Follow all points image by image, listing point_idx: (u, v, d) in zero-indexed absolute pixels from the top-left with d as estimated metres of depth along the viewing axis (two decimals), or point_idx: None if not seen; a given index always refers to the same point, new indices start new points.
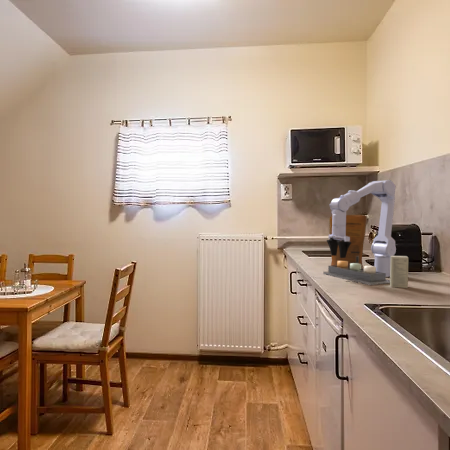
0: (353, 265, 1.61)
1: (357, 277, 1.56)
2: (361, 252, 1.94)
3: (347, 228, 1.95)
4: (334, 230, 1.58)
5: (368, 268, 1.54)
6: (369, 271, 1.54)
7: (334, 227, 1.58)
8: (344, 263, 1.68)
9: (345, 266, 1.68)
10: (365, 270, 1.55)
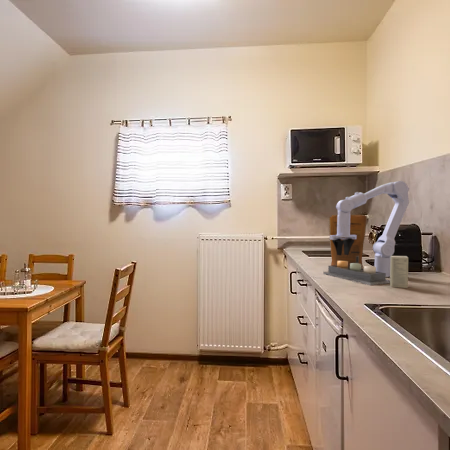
0: (353, 265, 1.61)
1: (357, 277, 1.56)
2: (361, 252, 1.94)
3: None
4: None
5: (368, 268, 1.54)
6: (369, 271, 1.54)
7: None
8: (344, 263, 1.68)
9: (345, 266, 1.68)
10: (365, 270, 1.55)
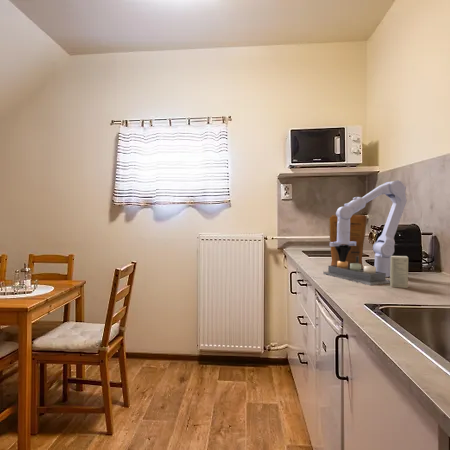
0: (353, 265, 1.61)
1: (357, 277, 1.56)
2: (361, 252, 1.94)
3: None
4: None
5: (368, 268, 1.54)
6: (369, 271, 1.54)
7: None
8: (344, 263, 1.68)
9: (345, 266, 1.68)
10: (365, 270, 1.55)
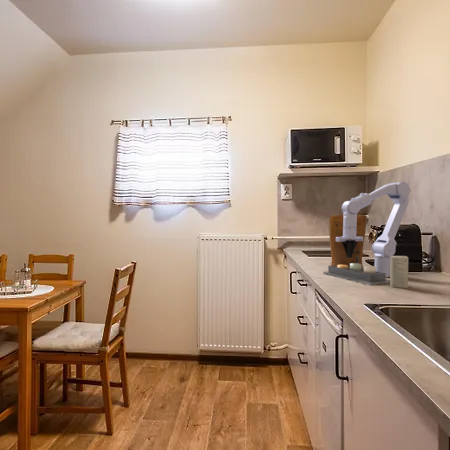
0: (353, 265, 1.61)
1: (357, 277, 1.56)
2: (361, 252, 1.94)
3: None
4: None
5: (368, 268, 1.54)
6: (369, 271, 1.54)
7: None
8: (344, 267, 1.68)
9: None
10: (365, 270, 1.55)
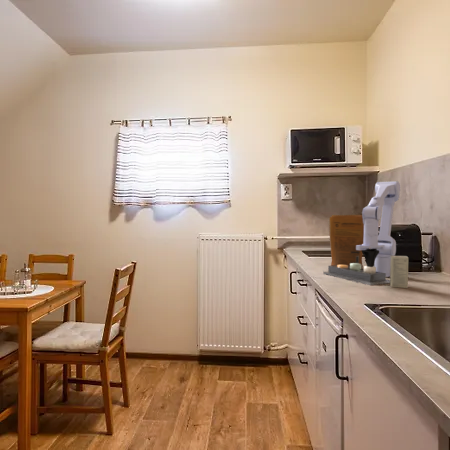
0: (353, 265, 1.61)
1: (357, 277, 1.56)
2: (361, 252, 1.94)
3: (347, 228, 1.95)
4: None
5: (368, 268, 1.54)
6: (369, 271, 1.54)
7: None
8: (344, 267, 1.68)
9: None
10: (365, 270, 1.55)
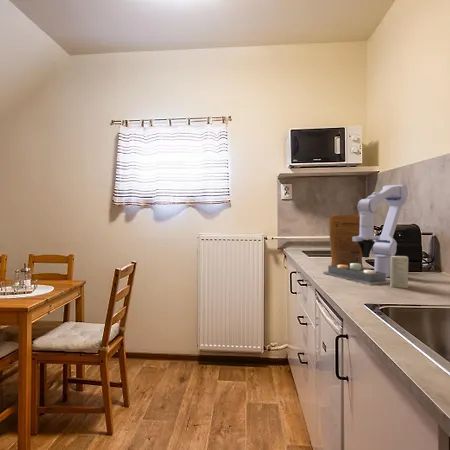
0: (353, 265, 1.61)
1: (357, 277, 1.56)
2: (361, 252, 1.94)
3: (347, 228, 1.95)
4: None
5: (368, 272, 1.54)
6: None
7: None
8: (344, 267, 1.68)
9: None
10: None
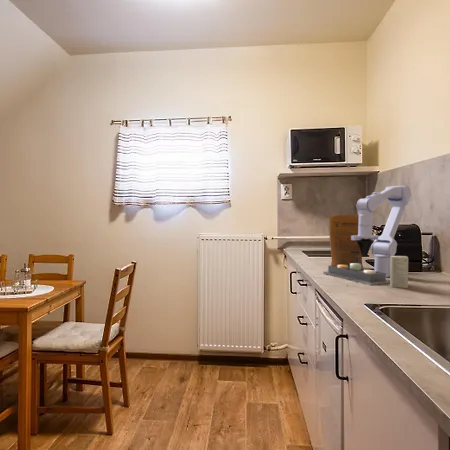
0: (353, 265, 1.61)
1: (357, 277, 1.56)
2: None
3: (347, 228, 1.95)
4: None
5: (368, 272, 1.54)
6: None
7: None
8: (344, 267, 1.68)
9: None
10: None
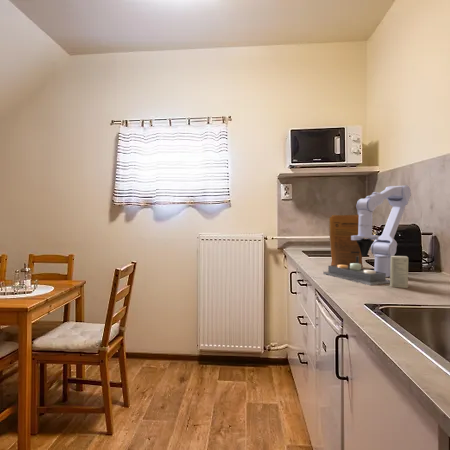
0: (353, 265, 1.61)
1: (357, 277, 1.56)
2: None
3: (347, 228, 1.95)
4: None
5: (368, 272, 1.54)
6: None
7: None
8: (344, 267, 1.68)
9: None
10: None
